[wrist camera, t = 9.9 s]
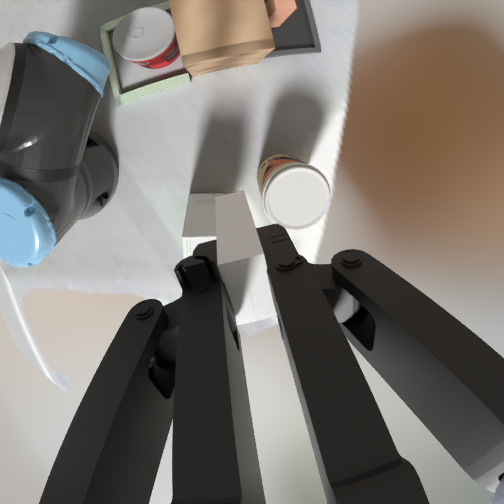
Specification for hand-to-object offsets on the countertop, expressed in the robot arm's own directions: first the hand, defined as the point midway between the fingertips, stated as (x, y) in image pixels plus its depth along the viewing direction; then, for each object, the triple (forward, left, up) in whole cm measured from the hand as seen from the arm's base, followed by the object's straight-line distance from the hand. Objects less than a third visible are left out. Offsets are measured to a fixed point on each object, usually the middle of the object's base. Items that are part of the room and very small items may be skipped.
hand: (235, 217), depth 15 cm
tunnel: (+3, +18, -32) cm, 37 cm away
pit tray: (+14, +18, -32) cm, 39 cm away
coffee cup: (+8, -8, -33) cm, 34 cm away
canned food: (-6, +18, -33) cm, 38 cm away
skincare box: (-5, -12, -33) cm, 35 cm away
